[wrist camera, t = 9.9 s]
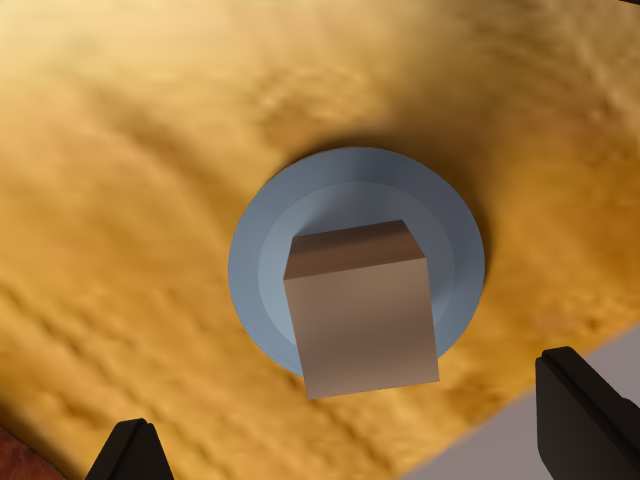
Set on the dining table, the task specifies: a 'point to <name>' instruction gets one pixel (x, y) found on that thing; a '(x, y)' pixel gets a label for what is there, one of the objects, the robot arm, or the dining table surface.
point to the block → (361, 310)
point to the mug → (632, 1)
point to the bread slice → (23, 461)
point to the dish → (347, 212)
